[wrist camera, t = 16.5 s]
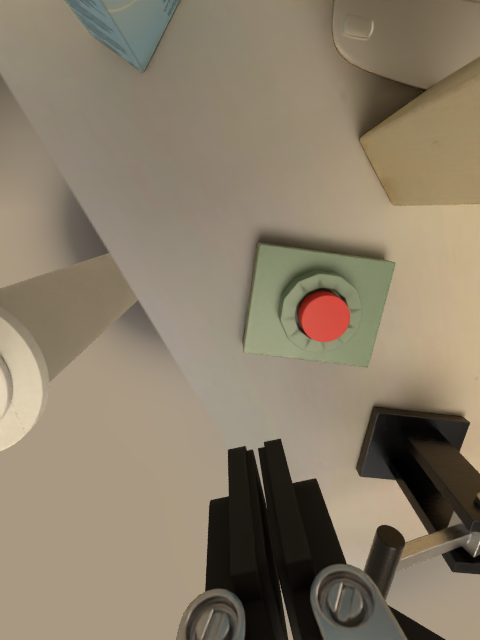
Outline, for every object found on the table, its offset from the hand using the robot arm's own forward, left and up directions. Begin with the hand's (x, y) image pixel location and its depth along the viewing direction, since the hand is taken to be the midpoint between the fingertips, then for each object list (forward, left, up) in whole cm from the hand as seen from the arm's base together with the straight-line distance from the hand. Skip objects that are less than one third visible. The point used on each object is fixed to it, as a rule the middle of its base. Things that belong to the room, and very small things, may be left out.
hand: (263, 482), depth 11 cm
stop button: (+6, -2, -20) cm, 21 cm away
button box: (+6, -2, -24) cm, 25 cm away
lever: (+10, -18, -12) cm, 24 cm away
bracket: (+14, -20, -24) cm, 34 cm away
